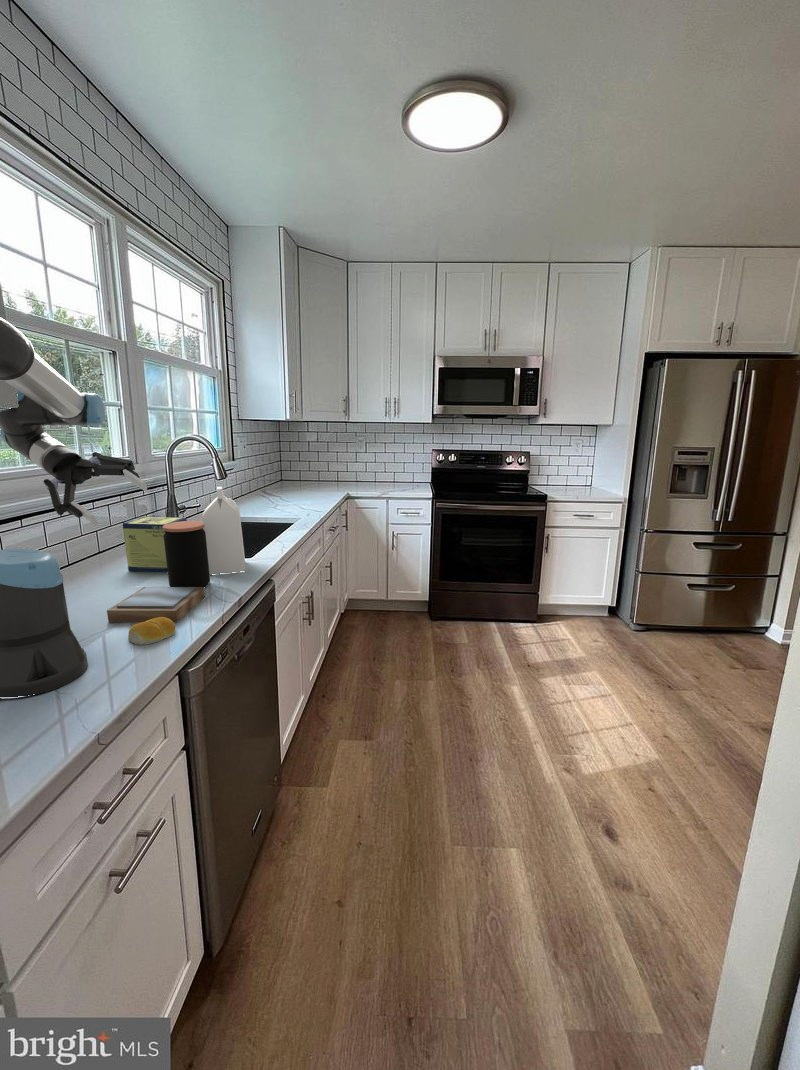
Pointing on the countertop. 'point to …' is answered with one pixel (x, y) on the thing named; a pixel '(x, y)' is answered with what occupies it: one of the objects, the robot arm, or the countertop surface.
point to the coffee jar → (186, 554)
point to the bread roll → (151, 631)
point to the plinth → (156, 604)
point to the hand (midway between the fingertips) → (120, 502)
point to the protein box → (146, 543)
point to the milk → (224, 535)
